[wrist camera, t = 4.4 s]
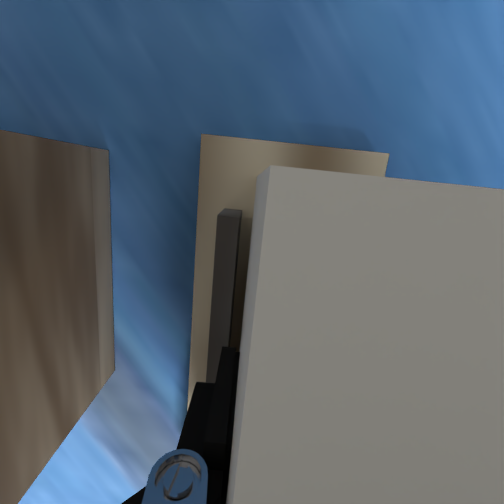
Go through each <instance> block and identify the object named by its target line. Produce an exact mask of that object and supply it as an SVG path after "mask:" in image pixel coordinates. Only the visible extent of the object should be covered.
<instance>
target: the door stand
mask: <svg viewBox="0 0 504 504" xmlns="http://www.w3.org/2000/svg"><path fill="white" fill-rule="evenodd" d="M388 158H389V153H379V152H370V151H360V150H351V149H342V148H332V147H323V146H313V145H304V144H294V143H285V142H275V141H266V140H256V139H247V138H237V137H228V136H218V135H209V134H201V149H200V169H199V189H198V209H197V228H196V248H195V268H194V288H193V308H192V328H191V348H190V367H189V387H188V407H187V411H188V408H189V404H190V401H191V398H192V394H193V391H194V387H195V384H196V382H207V383H215V381H216V376H217V370H218V365H219V360H220V355H221V350H222V346H224V347H235V348H236V352H239V349H240V339H241V329H242V319H243V309H244V299H245V289H246V279H247V269H248V260H249V250H250V240H251V230H252V220H253V210H254V200H255V190H256V180H257V176H258V175H259V174H261V173H262V172H263V171H264V170H265V169H267V168H268V167H269V166H270V165H275V166H284V167H294V168H303V169H313V170H323V171H332V172H342V173H351V174H361V175H371V176H380V177H385V172H386V168H387V163H388Z"/></svg>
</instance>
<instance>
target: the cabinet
mask: <svg viewBox="0 0 504 504" xmlns="http://www.w3.org/2000/svg"><path fill="white" fill-rule="evenodd" d="M114 371H115V358H114V322H113V286H112V250H111V214H110V178H109V150H104V149H99V148H94V147H88V146H83V145H78V144H73V143H67V142H62V141H57V140H52V139H47V138H41V137H36V136H31V135H26V134H20V133H15V132H10V131H5V130H0V504H18V502H19V501H20V500H21V498H22V497H23V496H24V494H25V493H26V491H27V490H28V489H29V487H30V486H31V485H32V483H33V482H34V481H35V479H36V478H37V476H38V475H39V474H40V472H41V471H42V470H43V468H44V467H45V465H46V464H47V463H48V461H49V460H50V459H51V457H52V456H53V454H54V453H55V452H56V450H57V449H58V448H59V446H60V445H61V443H62V442H63V441H64V439H65V438H66V437H67V435H68V434H69V432H70V431H71V430H72V428H73V427H74V426H75V424H76V423H77V422H78V420H79V419H80V417H81V416H82V415H83V413H84V412H85V411H86V409H87V408H88V406H89V405H90V404H91V402H92V401H93V400H94V398H95V397H96V395H97V394H98V393H99V391H100V390H101V389H102V387H103V386H104V384H105V383H106V382H107V380H108V379H109V378H110V376H111V375H112V374H113V372H114Z"/></svg>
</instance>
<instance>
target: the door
mask: <svg viewBox="0 0 504 504" xmlns="http://www.w3.org/2000/svg"><path fill="white" fill-rule="evenodd" d="M239 352H240V357H239V369H238V380H237V392H236V404H235V415H234V427H233V439H232V449H231V459H230V469H229V478H228V488H227V498H226V504H504V189H496V188H486V187H476V186H467V185H457V184H448V183H438V182H428V181H419V180H409V179H400V178H390V177H380V176H371V175H361V174H351V173H342V172H332V171H323V170H313V169H303V168H294V167H284V166H275V165H270V166H269V167H268V168H267V169H265V170H264V171H263V172H262V173H261V174H259V175H258V176H257V180H256V190H255V200H254V210H253V220H252V230H251V240H250V250H249V260H248V269H247V279H246V289H245V299H244V309H243V319H242V329H241V339H240V349H239Z"/></svg>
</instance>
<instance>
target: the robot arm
mask: <svg viewBox="0 0 504 504" xmlns="http://www.w3.org/2000/svg"><path fill="white" fill-rule="evenodd" d="M239 357H240V352H236V348H235V347H224V346H222V350H221V355H220V360H219V365H218V370H217V376H216V381H215V383H207V382H196V384H195V387H194V391H193V394H192V398H191V401H190V404H189V408H188V411H187V415H186V418H185V422H184V425H183V429H182V432H181V436H180V439H179V443H178V446H177V450H173V451H171V452H169V453H166V454H165V455H164V456H162V457H161V458H160V459H158V461H157V462H156V463H155V465H154V466H153V467H152V469H151V472H150V474H149V477H148V481H147V485H146V487H144V488H143V489H141V490H140V491H139V492H137V493H136V494H134V495H133V496H132V497H130V498H129V499H127V500H126V501H124V502H123V503H122V504H226V498H227V488H228V478H229V469H230V459H231V449H232V439H233V427H234V415H235V404H236V392H237V380H238V369H239Z"/></svg>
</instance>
